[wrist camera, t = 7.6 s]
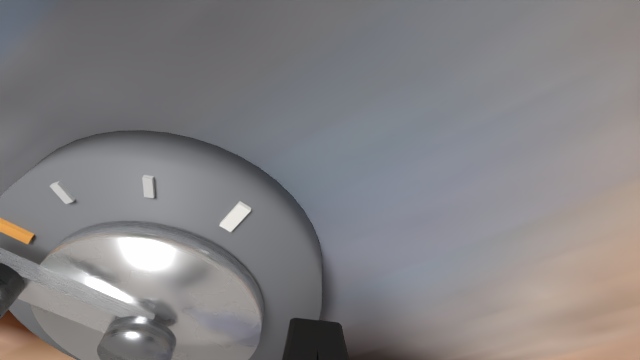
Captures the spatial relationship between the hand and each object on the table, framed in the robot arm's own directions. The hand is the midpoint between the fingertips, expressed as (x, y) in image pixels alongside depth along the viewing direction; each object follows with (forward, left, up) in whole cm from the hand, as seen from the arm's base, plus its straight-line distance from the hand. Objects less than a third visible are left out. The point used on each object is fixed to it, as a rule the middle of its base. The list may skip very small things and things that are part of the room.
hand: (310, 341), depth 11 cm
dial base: (-8, +7, -9) cm, 14 cm away
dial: (-7, +8, -7) cm, 13 cm away
